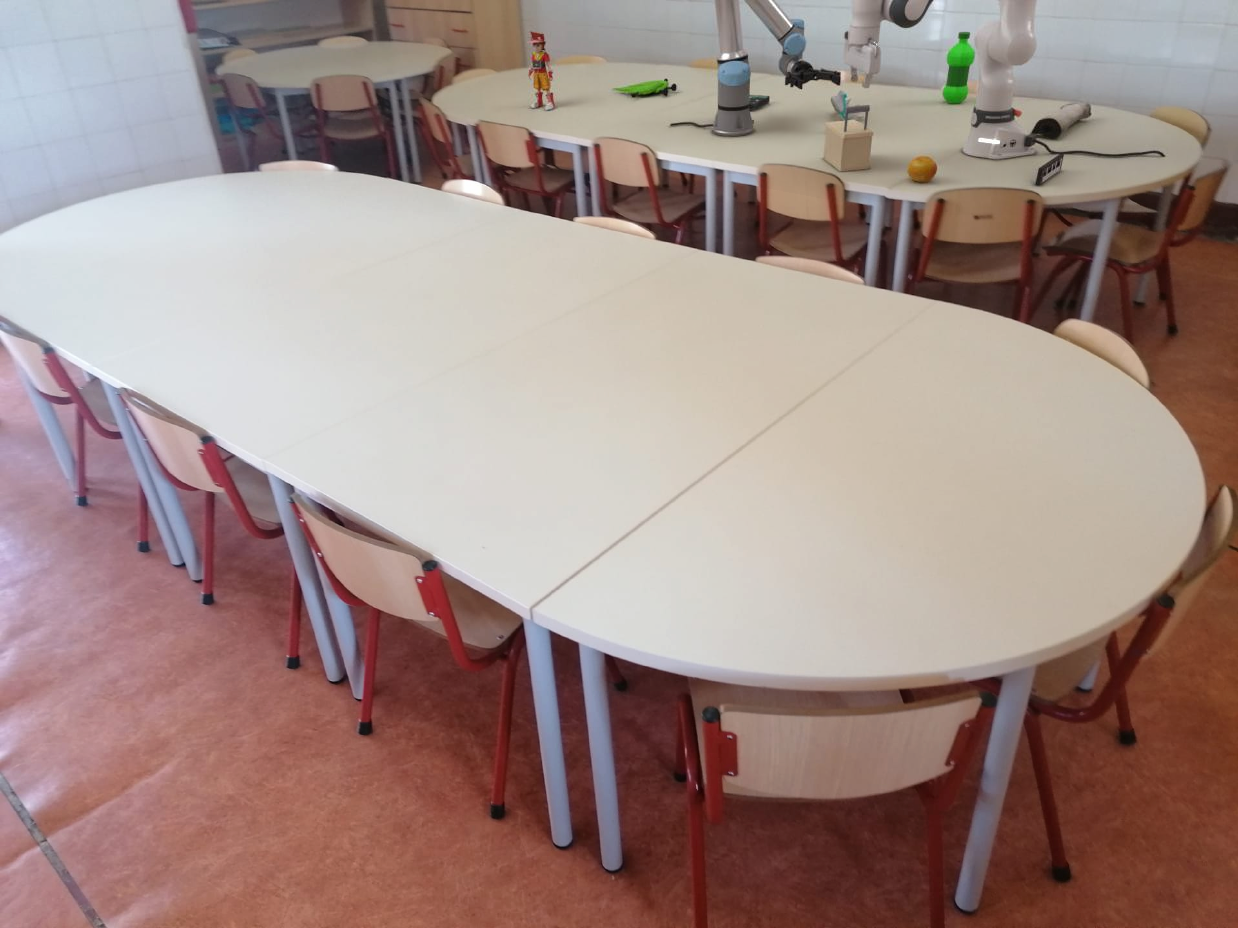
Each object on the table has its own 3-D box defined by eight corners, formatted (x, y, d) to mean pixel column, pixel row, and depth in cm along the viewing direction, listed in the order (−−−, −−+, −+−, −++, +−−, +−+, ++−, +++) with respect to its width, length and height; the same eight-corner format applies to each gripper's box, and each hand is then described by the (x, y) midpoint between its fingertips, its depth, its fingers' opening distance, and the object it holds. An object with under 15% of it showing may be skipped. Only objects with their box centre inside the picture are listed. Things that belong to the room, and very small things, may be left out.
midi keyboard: (1039, 185, 269) (1043, 168, 266) (1035, 184, 270) (1038, 168, 267) (1060, 170, 279) (1064, 154, 277) (1056, 169, 280) (1060, 153, 277)
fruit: (901, 172, 275) (918, 148, 272) (903, 174, 283) (919, 151, 280) (924, 187, 274) (941, 164, 271) (925, 189, 282) (942, 166, 279)
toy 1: (525, 109, 381) (517, 32, 364) (534, 104, 388) (527, 28, 371) (550, 110, 377) (543, 32, 360) (559, 105, 384) (553, 28, 367)
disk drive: (754, 111, 359) (769, 102, 369) (754, 104, 357) (770, 95, 367) (731, 109, 364) (746, 100, 374) (731, 102, 362) (747, 93, 372)
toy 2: (686, 85, 398) (631, 84, 414) (685, 72, 395) (629, 72, 411) (651, 104, 381) (596, 103, 397) (650, 92, 378) (594, 91, 394)
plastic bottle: (973, 101, 354) (984, 32, 339) (955, 106, 349) (966, 36, 335) (952, 97, 361) (962, 29, 346) (934, 102, 356) (944, 33, 342)
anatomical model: (825, 90, 346) (851, 83, 346) (828, 117, 352) (853, 110, 352) (836, 99, 334) (863, 92, 333) (839, 127, 340) (865, 120, 339)
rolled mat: (1058, 107, 328) (1083, 90, 320) (1071, 128, 329) (1097, 111, 320) (1025, 130, 311) (1051, 112, 303) (1040, 152, 311) (1065, 134, 303)
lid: (873, 136, 285) (876, 107, 280) (843, 139, 284) (846, 110, 279) (854, 123, 298) (856, 96, 293) (825, 126, 297) (828, 98, 292)
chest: (868, 168, 292) (872, 135, 286) (840, 171, 291) (843, 138, 285) (850, 155, 304) (853, 124, 298) (823, 158, 303) (825, 126, 297)
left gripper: (832, 79, 329) (854, 91, 312) (766, 85, 327) (785, 98, 309) (834, 57, 325) (856, 68, 308) (767, 63, 322) (786, 75, 305)
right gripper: (888, 41, 263) (883, 90, 270) (861, 30, 279) (856, 77, 287) (868, 43, 262) (863, 92, 270) (841, 31, 279) (838, 79, 286)
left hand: (820, 83), depth 308 cm, fingers open, 13 cm apart
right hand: (859, 84), depth 279 cm, fingers open, 8 cm apart
